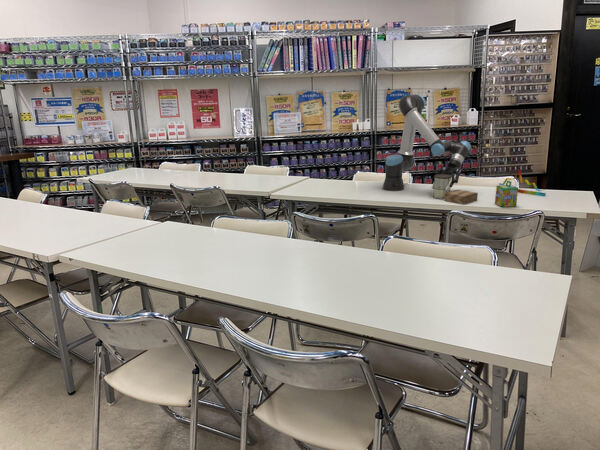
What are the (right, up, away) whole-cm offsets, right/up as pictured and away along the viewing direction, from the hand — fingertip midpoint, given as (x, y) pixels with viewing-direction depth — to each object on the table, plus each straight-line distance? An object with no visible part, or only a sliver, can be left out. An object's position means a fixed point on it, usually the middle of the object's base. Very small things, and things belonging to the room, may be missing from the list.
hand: (439, 189), depth 300 cm
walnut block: (+11, -8, -7) cm, 15 cm away
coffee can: (+2, -5, +3) cm, 6 cm away
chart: (+57, -2, +9) cm, 58 cm away
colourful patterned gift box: (+33, -11, -22) cm, 41 cm away
